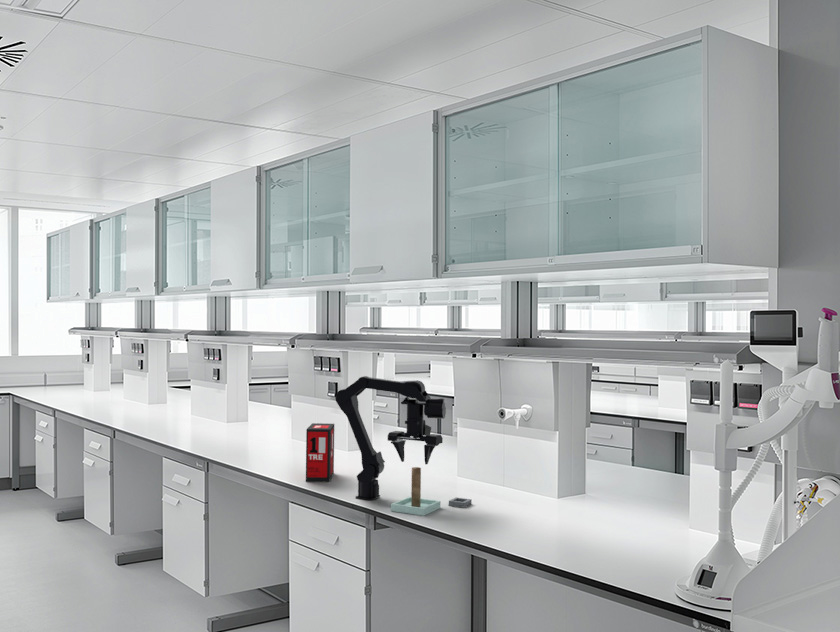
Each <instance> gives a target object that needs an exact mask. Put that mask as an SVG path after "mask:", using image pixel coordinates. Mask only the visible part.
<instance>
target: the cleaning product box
mask: <svg viewBox="0 0 840 632" xmlns="http://www.w3.org/2000/svg"><path fill="white" fill-rule="evenodd" d="M305 438H306V441H305V443H306V445H305V483H307V482H309V483H311V482H312V483H314V482H315V483H329V482H330V481H331V479H332V477H333V475H334V474H335V470H334V469H335V423H321V422H320V423H314V422H313V423H312V422H311V424H310V425H309V426H308V427H307V428H306V437H305Z"/></svg>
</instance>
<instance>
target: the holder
mask: <svg viewBox="0 0 840 632" xmlns="http://www.w3.org/2000/svg"><path fill="white" fill-rule="evenodd" d="M470 505H472V499H471V498H463V497H453V498H451V499H449V500H448V506H449V507H456V508H463V509H465V508H467V507H469V506H470Z"/></svg>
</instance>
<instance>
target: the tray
mask: <svg viewBox="0 0 840 632" xmlns="http://www.w3.org/2000/svg"><path fill="white" fill-rule="evenodd" d="M439 509H441V500H436V499H435V500H434V499H428V498H421V506H420V507H413V506H411V496H407V497H405V498H402V499H400V500H397V501H395V502H392V503H391V504H390V512H397V513H401V514H402V513H404V514H410V515H416V516H423V517H424V516H426V515H428V514H430V513H432V512H434V511H436V510H439Z"/></svg>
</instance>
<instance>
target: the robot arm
mask: <svg viewBox="0 0 840 632" xmlns="http://www.w3.org/2000/svg"><path fill="white" fill-rule="evenodd" d="M366 389H369V390H370V389H371V390H377V391H384V392H392V393H396V394H399V395H402V396H404V397H405V398H404V399H403V400H402V401H400V404H401V405H406V420H404V424H405V425H406V432H405V431H401V430H394V431H390V432H388V434H387V441H388V442H389V441H390V444H392V445H393V446H394V448H395V450H396V452H397V454H398V457H399V459H400V462H402V463H403V462H405V445H406V441H417V442H424V443H425V444H424V445H423V450H424V463H425V465H428V464H429V461H430V459H431V455H432V453H433V451H434V450H435V449H436V447H437V446H440V444H443V437H442V436H443V435H441V434H435V433H432V426H429V425H427V424H426V420H425V419H424V416H425V417H427V418H428V419H442V420H444V419H445V418H446V414H447V413H446V412H447V408H446V403H445V398H443V397H442V398H431V396H430V395H429V394H428V392H427V390H426V386H425V384H424V383H423V382H422V381H421V380H404V381H398V380H391V379H385V378H377V377H371V376H367V375H366V376H365V375H364V376H361V377H359V378H358V379H357V380H356V381H355V382H353V383H352V384H350V385H349V386H348V387H346V388H343V389H340V390H338V391H337V392H336V395H335V402H336V404H337V405H338V408H340V410H341V411H342V412H343V414H344V415H345V416H346V417H347V420H348V423H349V425H350V428H351V431H352V433H353V436H354V438H355V441H356V444H357V445H358V446H357V447H358V448H359V451H360V454H361V465H362V470H361V471H360V472H359V473H357V475H356V479H357V482H358V483H357V495H356V496H355V499H361V500H368V501H372V500H375V499H378V498H380V497H381V494H380V484H379V480H378V478H379V476H380V474H382V473H383V472H384V469H385V463H386V460H385V459H384V458H383V455H382V452H381V451H376V449H374V448H373V447H374V446H373V444H372V441H371V439H370V436H369V434H368V431H367V430H366V427H365V424H364V422H363V418H362V417H361V414H360V411H359V399H358V396H359V395H360V394H362V393H363V392H364V391H365V390H366Z"/></svg>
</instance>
